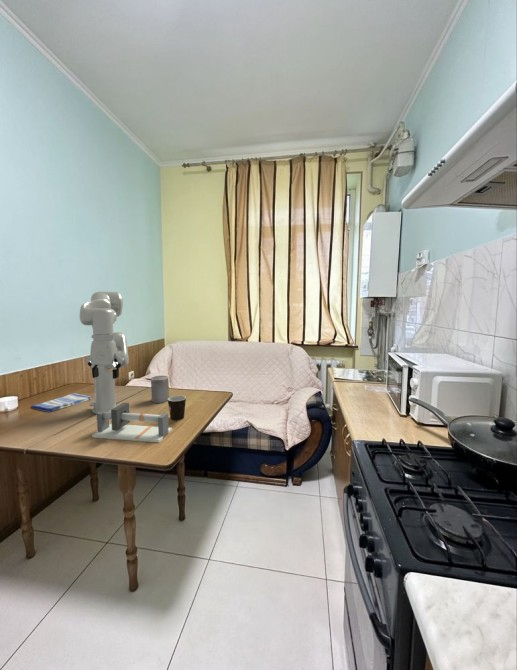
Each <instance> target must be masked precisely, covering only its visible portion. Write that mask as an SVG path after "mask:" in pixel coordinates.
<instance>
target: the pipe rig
mask: <svg viewBox="0 0 517 670" xmlns="http://www.w3.org/2000/svg"><path fill="white" fill-rule="evenodd" d="M120 416H121V420H130V421H134V422H136V421H137V422H144V423H146V422H147V423H148V422H150V423H157V424H158V425H157V426H151V425H148V426H147V425H135V424H126V425H125V426H124V427H122V428H121V429H119V430H118V431H115V430H112V423H110V420H111V412H109V411H108V410H103V411H101V412H99V413H97V414H96V427H97V431H96V432H94V433H93V434H91V438H95V439H97V438H98V439H110V440H120V441H121V440H123V441H135V442H149V443H160V442H162V440H164V438H166V437H167V436H168V435H169V433H170V432H172V431H173V427H169V414H168V412H163V413H162V414H151V413H149V414H148V413H133V412H129V413H120Z"/></svg>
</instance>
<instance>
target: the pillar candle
mask: <svg viewBox="0 0 517 670" xmlns="http://www.w3.org/2000/svg"><path fill="white" fill-rule="evenodd" d="M169 382H170V381H169V376H168V375H156V376H152V377H151V378H150V386H151V390H150V391H151V402H152V403H153V404H160V403H161V404H162V403H168V398H169V397H170V387H169V386H170V385H169Z"/></svg>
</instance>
